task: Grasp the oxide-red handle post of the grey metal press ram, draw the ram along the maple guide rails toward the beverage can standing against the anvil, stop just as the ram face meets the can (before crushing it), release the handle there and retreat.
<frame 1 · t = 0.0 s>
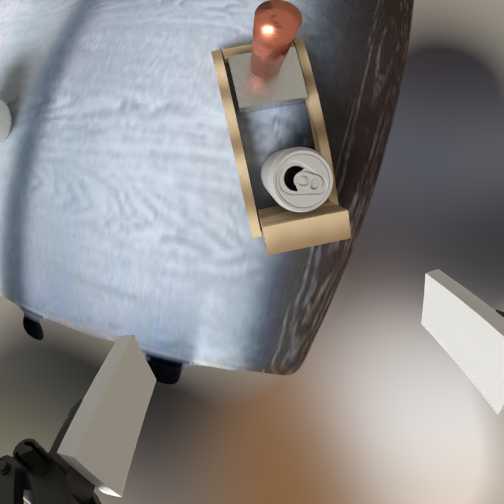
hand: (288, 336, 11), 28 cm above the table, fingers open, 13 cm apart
lidded jar: (3, 126, 31), on the table
ram: (271, 63, 24), point 9 cm above the table, slide at 0.0 cm
press frame: (276, 133, 35), on the table
beverage can: (284, 173, 37), resting in press frame
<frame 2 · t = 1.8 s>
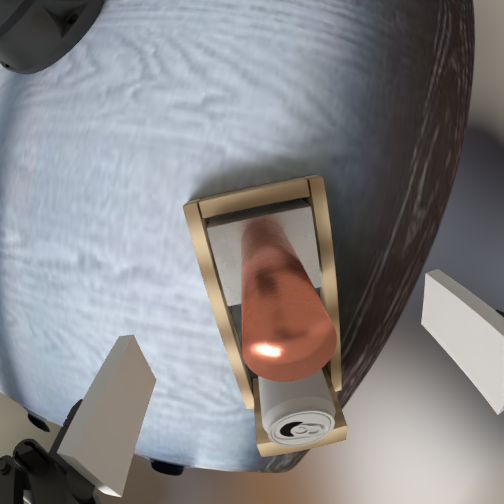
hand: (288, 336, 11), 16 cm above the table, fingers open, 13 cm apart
ram: (273, 283, 19), point 9 cm above the table, slide at 0.0 cm
press frame: (276, 307, 29), on the table
beverage can: (284, 346, 31), resting in press frame
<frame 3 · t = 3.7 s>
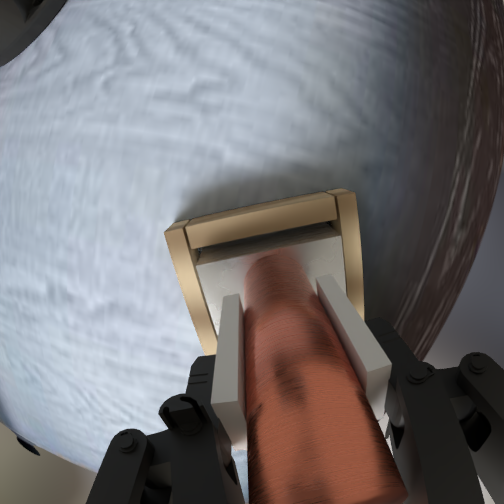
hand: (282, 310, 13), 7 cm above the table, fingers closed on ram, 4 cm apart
ram: (291, 353, 12), point 9 cm above the table, slide at 0.0 cm, touching gripper
press frame: (287, 352, 23), on the table
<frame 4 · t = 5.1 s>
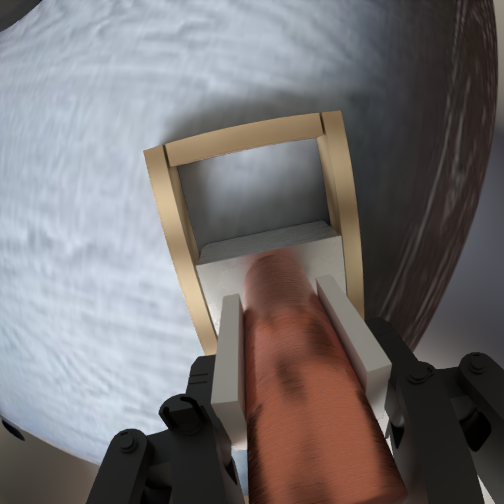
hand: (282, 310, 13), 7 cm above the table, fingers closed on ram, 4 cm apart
ram: (291, 353, 12), point 9 cm above the table, slide at 5.1 cm, touching gripper
press frame: (277, 301, 21), on the table
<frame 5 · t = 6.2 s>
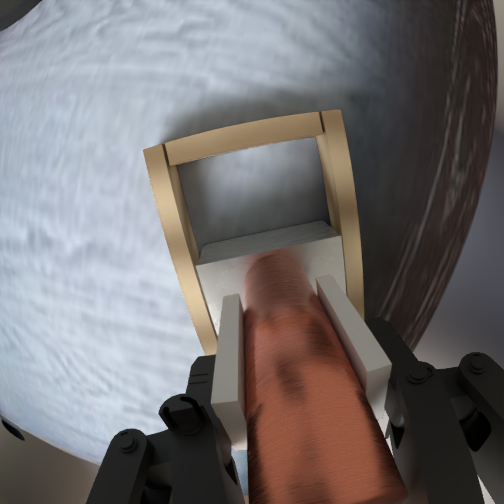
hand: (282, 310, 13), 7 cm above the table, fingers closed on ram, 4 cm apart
ram: (291, 353, 12), point 9 cm above the table, slide at 5.2 cm, touching gripper
press frame: (277, 300, 21), on the table
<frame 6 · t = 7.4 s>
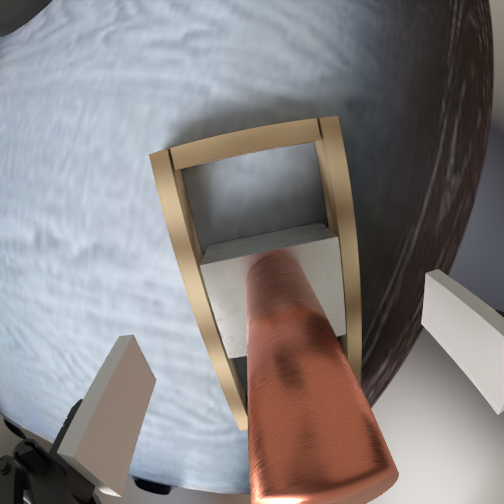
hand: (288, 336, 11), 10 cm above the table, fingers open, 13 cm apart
ram: (290, 348, 13), point 9 cm above the table, slide at 5.2 cm
press frame: (277, 299, 22), on the table
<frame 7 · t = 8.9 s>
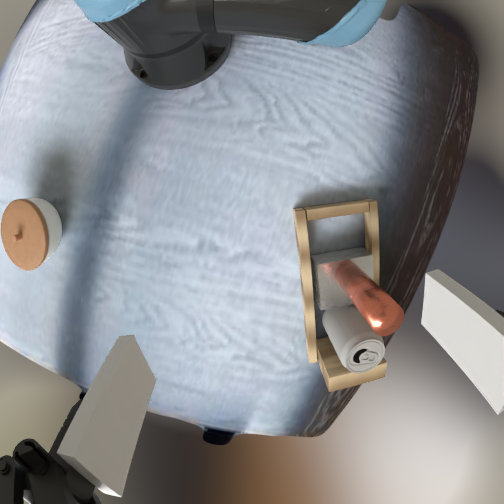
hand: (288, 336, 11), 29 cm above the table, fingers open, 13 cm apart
lidded jar: (49, 224, 38), on the table
ram: (359, 297, 34), point 9 cm above the table, slide at 5.2 cm
press frame: (338, 283, 43), on the table
beverage can: (339, 313, 44), resting in press frame
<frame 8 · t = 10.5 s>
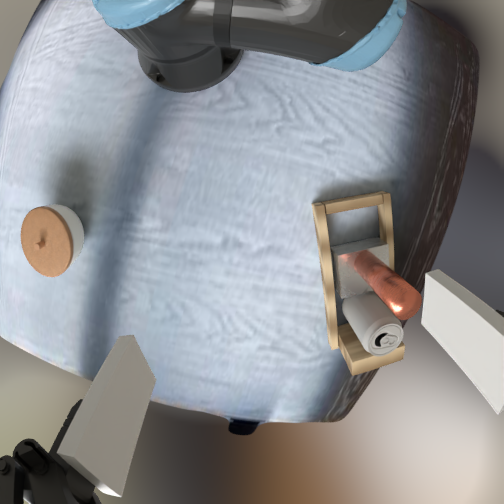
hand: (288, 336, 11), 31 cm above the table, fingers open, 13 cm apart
lidded jar: (69, 229, 40), on the table
ram: (378, 284, 35), point 9 cm above the table, slide at 5.2 cm
press frame: (356, 272, 44), on the table
beverage can: (357, 300, 46), resting in press frame
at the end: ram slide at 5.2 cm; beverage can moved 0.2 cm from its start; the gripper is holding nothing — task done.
